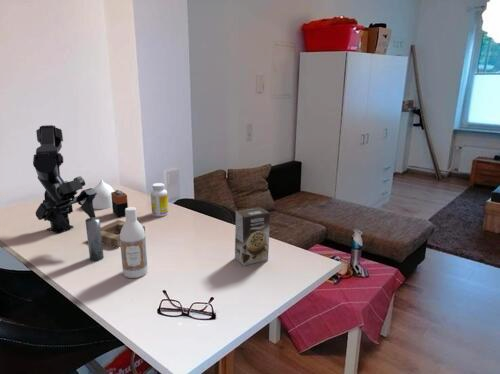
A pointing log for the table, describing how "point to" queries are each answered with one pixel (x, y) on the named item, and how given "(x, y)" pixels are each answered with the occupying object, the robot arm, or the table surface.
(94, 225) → the grey metal cylinder
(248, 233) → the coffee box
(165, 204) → the supplement bottle
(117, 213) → the battery
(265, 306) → the table surface
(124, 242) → the bath foam
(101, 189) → the teardrop
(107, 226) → the holder block
